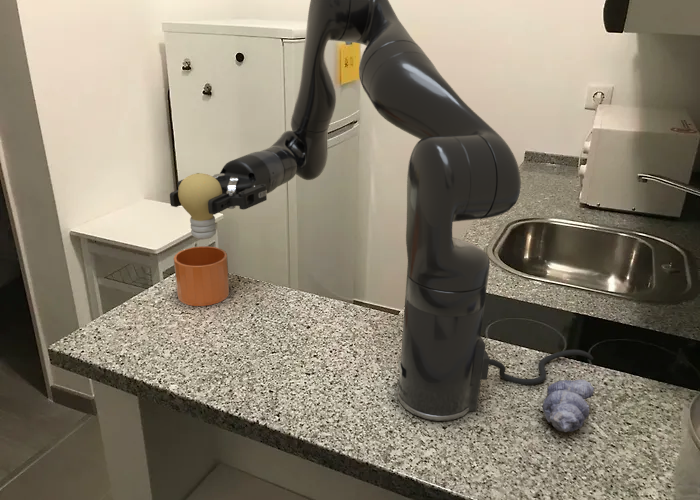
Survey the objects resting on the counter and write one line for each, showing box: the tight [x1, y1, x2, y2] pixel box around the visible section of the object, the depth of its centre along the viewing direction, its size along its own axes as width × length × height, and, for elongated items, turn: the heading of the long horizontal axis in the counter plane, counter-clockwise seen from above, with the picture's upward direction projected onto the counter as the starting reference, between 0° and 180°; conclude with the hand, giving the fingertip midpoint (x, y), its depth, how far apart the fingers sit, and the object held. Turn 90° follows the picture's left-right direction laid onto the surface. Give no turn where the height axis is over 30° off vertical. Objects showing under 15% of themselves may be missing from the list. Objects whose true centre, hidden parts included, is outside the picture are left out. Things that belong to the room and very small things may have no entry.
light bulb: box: [177, 172, 222, 240], centre depth 88 cm, size 6×6×10 cm
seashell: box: [542, 379, 595, 433], centre depth 70 cm, size 5×5×10 cm
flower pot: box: [173, 245, 230, 307], centre depth 97 cm, size 8×8×7 cm
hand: (191, 204), depth 86 cm, fingers closed on light bulb, 6 cm apart
